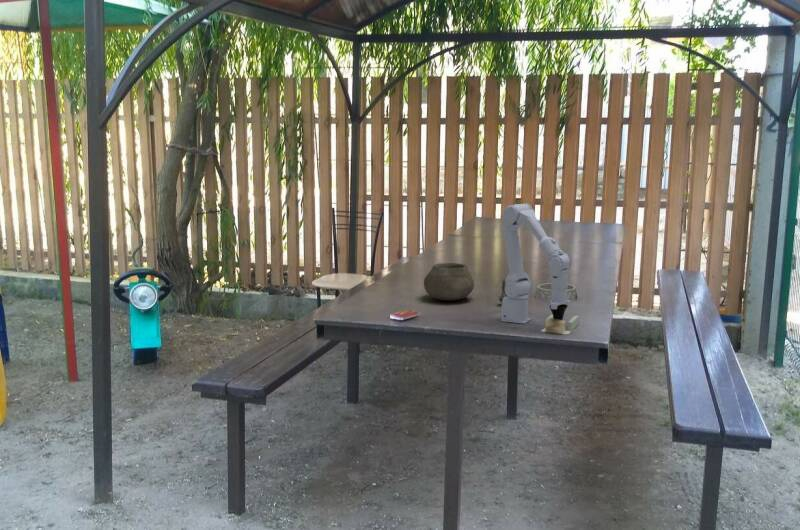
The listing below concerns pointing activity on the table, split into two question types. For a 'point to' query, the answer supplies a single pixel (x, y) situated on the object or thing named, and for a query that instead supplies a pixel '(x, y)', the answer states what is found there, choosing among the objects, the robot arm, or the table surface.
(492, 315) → the table surface
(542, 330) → the mat
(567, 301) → the robot arm
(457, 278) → the clay pot
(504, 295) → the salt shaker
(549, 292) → the dog bowl
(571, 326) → the rails
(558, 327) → the birch block
